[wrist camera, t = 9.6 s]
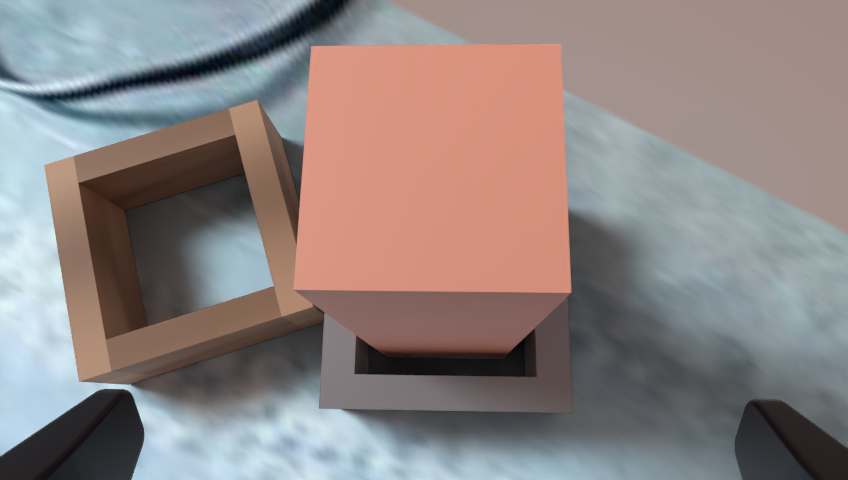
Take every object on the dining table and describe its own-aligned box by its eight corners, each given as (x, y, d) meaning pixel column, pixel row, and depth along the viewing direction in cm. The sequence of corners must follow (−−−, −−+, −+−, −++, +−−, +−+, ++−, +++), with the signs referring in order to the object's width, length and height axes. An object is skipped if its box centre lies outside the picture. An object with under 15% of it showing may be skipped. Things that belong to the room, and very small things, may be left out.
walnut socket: (331, 319, 22) (313, 306, 19) (129, 384, 22) (79, 381, 19) (281, 136, 24) (257, 99, 21) (94, 194, 24) (44, 165, 21)
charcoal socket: (556, 411, 21) (572, 413, 18) (337, 408, 21) (319, 408, 18) (548, 202, 23) (562, 172, 20) (347, 202, 23) (332, 172, 20)
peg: (502, 359, 21) (571, 292, 9) (386, 357, 22) (293, 290, 9) (501, 246, 22) (560, 44, 10) (390, 245, 23) (311, 46, 10)
